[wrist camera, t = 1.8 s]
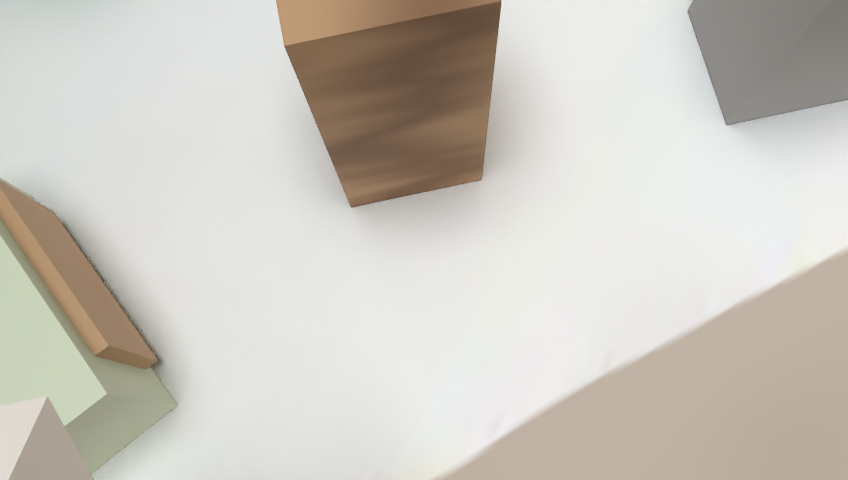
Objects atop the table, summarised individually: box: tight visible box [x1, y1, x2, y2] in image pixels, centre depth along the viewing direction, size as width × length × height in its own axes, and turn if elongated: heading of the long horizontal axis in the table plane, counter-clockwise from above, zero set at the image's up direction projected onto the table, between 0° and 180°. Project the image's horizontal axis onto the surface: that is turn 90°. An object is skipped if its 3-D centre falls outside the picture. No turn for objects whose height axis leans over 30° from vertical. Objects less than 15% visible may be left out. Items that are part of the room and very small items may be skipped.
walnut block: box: [276, 0, 501, 207], centre depth 24 cm, size 5×5×12 cm
